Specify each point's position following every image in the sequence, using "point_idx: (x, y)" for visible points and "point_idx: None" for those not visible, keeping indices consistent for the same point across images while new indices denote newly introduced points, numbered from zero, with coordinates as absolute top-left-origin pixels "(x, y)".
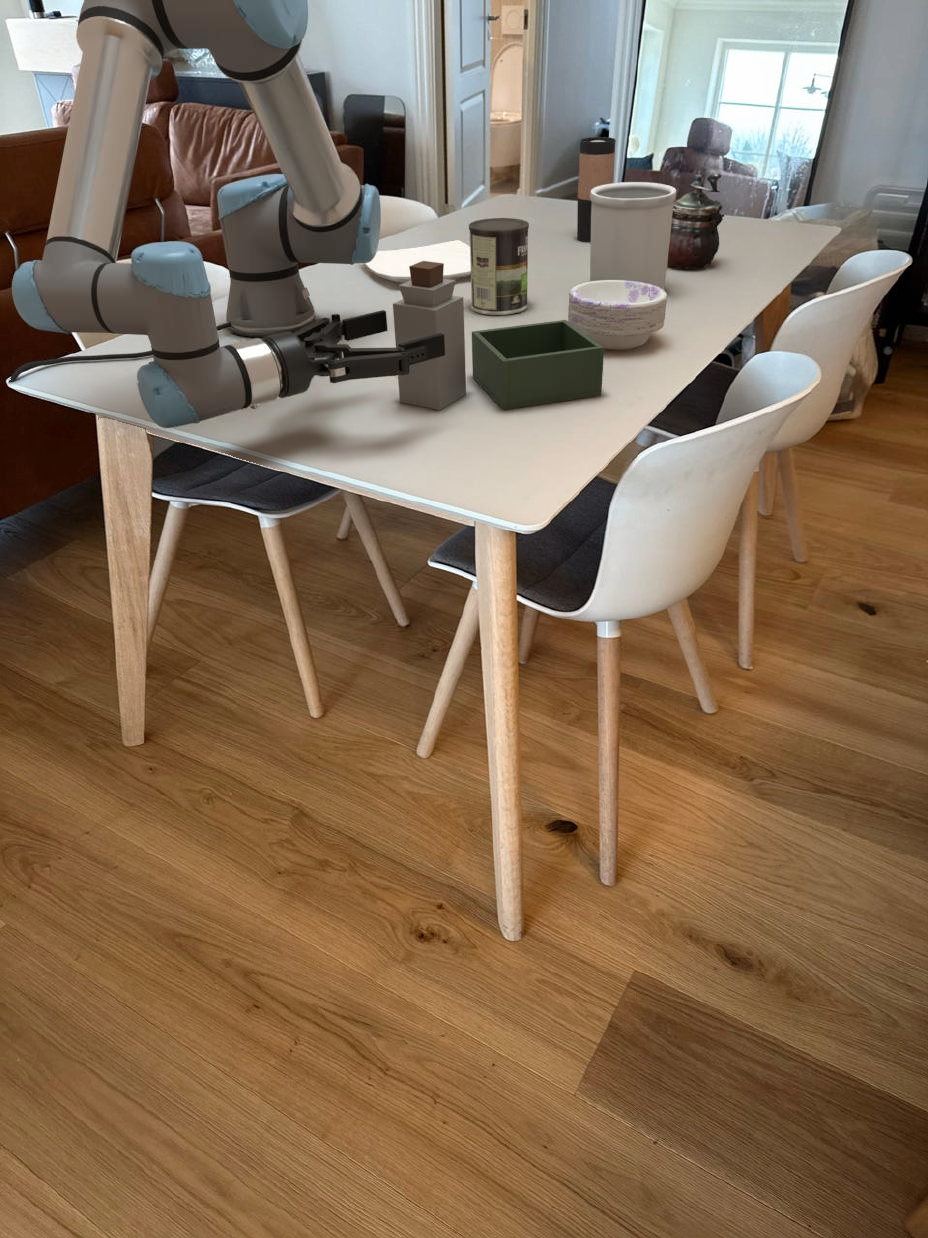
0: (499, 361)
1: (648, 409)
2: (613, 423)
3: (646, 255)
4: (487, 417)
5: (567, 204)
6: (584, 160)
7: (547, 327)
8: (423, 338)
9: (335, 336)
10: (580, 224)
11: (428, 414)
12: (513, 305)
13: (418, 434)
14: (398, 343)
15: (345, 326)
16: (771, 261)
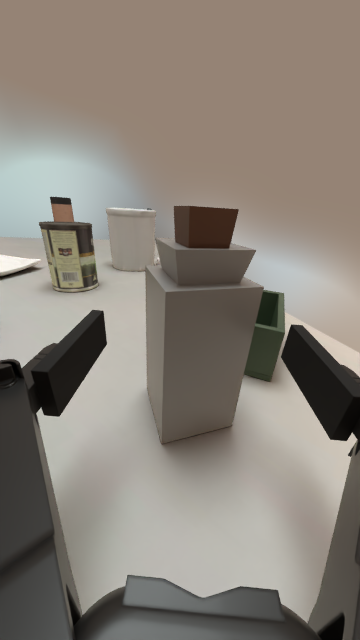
0: (270, 333)
1: (314, 330)
2: (339, 352)
3: (151, 244)
4: (284, 403)
5: (29, 238)
6: (57, 207)
7: None
8: (317, 349)
9: (40, 442)
10: None
11: (235, 446)
12: (94, 281)
13: (319, 522)
14: (170, 364)
15: (49, 385)
16: None
